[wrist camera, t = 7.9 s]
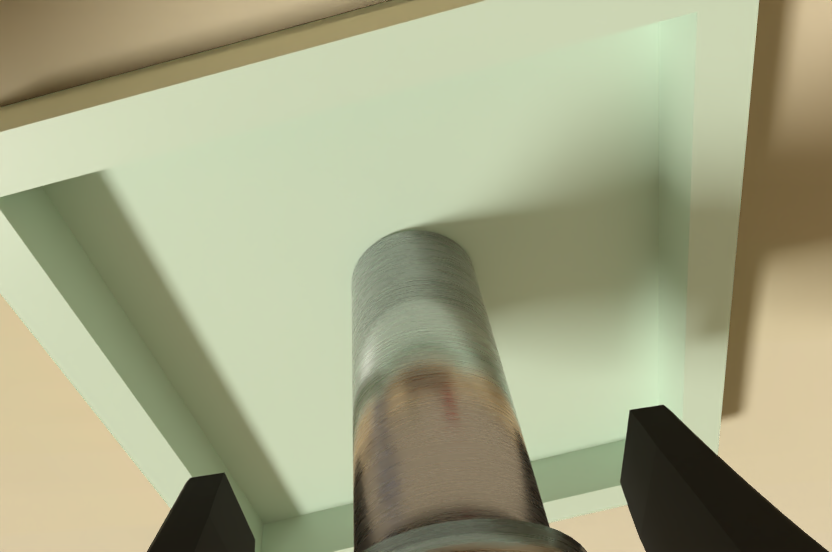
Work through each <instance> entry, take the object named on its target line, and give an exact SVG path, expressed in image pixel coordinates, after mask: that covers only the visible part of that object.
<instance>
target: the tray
mask: <svg viewBox="0 0 832 552" xmlns="http://www.w3.org/2000/svg"><path fill="white" fill-rule="evenodd" d="M758 8H759V0H390V1H387V2H383V3H379V4H376V5H372V6H368V7H365V8H361V9H358V10H354V11H350V12H347V13H343V14H339V15H336V16H332V17H328V18H325V19H321V20H317V21H314V22H310V23H306V24H303V25H299V26H295V27H292V28H288V29H284V30H281V31H277V32H273V33H270V34H266V35H262V36H259V37H255V38H251V39H248V40H244V41H240V42H237V43H233V44H229V45H226V46H222V47H218V48H215V49H211V50H208V51H204V52H200V53H197V54H193V55H189V56H186V57H182V58H178V59H175V60H171V61H167V62H164V63H160V64H156V65H153V66H149V67H145V68H142V69H138V70H134V71H131V72H127V73H123V74H120V75H116V76H112V77H109V78H105V79H101V80H98V81H94V82H90V83H87V84H83V85H79V86H76V87H72V88H68V89H65V90H61V91H57V92H54V93H50V94H47V95H43V96H39V97H36V98H32V99H28V100H25V101H21V102H17V103H14V104H10V105H6V106H3V107H0V294H1V295H2V296H3V298H4V299H5V300H6V301H7V303H8V304H9V305H10V306H11V308H12V309H13V310H14V312H15V313H16V314H17V315H18V317H19V318H20V319H21V320H22V322H23V323H24V324H25V325H26V327H27V328H28V329H29V330H30V332H31V333H32V334H33V335H34V337H35V338H36V339H37V341H38V342H39V343H40V344H41V346H42V347H43V348H44V349H45V351H46V352H47V353H48V354H49V356H50V357H51V358H52V359H53V361H54V362H55V363H56V365H57V366H58V367H59V368H60V370H61V371H62V372H63V373H64V375H65V376H66V377H67V378H68V380H69V381H70V382H71V383H72V385H73V386H74V387H75V389H76V390H77V391H78V392H79V394H80V395H81V396H82V397H83V399H84V400H85V401H86V402H87V404H88V405H89V406H90V407H91V409H92V410H93V411H94V412H95V414H96V415H97V416H98V418H99V419H100V420H101V421H102V423H103V424H104V425H105V426H106V428H107V429H108V430H109V431H110V433H111V434H112V435H113V436H114V438H115V439H116V440H117V442H118V443H119V444H120V445H121V447H122V448H123V449H124V450H125V452H126V453H127V454H128V455H129V457H130V458H131V459H132V460H133V462H134V463H135V464H136V465H137V467H138V468H139V469H140V471H141V472H142V473H143V474H144V476H145V477H146V478H147V479H148V481H149V482H150V483H151V484H152V486H153V487H154V488H155V489H156V491H157V492H158V493H159V495H160V496H161V497H162V498H163V500H164V501H165V502H166V503H167V505H168V506H169V507H170V508H172V507H173V505H174V503H175V501H176V499H177V498H178V496H179V494H180V492H181V490H182V489H183V487H184V485H185V483H186V482H187V481H188V480H189V478H192V477H198V476H205V475H211V474H218V473H224V472H225V474H226V476H227V479H228V481H229V483H230V485H231V487H232V490H233V492H234V494H235V496H236V498H237V501H238V503H239V505H240V507H241V509H242V511H243V514H244V516H245V518H246V520H247V522H248V525H249V527H250V529H251V531H252V533H253V536H254V538H255V552H354V526H353V410H352V295H351V283H352V275H353V271H354V268H355V265H356V264H357V262H358V260H359V258H360V257H361V256H362V255H363V253H364V252H365V251H366V250H367V249H368V248H369V247H371V246H372V245H373V244H375V243H376V242H378V241H379V240H381V239H383V238H385V237H387V236H390V235H393V234H396V233H400V232H405V231H415V230H417V231H429V232H434V233H438V234H441V235H443V236H446V237H448V238H450V239H451V240H453V241H455V242H456V243H457V244H459V245H460V246H461V247H462V248H463V249H464V250H465V252H466V253H467V254H468V256H469V258H470V260H471V262H472V264H473V268H474V271H475V274H476V278H477V281H478V285H479V288H480V292H481V295H482V298H483V302H484V305H485V309H486V312H487V315H488V319H489V322H490V326H491V329H492V332H493V336H494V339H495V343H496V346H497V349H498V353H499V356H500V360H501V363H502V366H503V370H504V373H505V377H506V380H507V383H508V387H509V390H510V394H511V397H512V400H513V404H514V407H515V411H516V414H517V418H518V421H519V424H520V428H521V431H522V435H523V438H524V441H525V445H526V448H527V452H528V455H529V458H530V462H531V465H532V469H533V472H534V475H535V479H536V482H537V486H538V489H539V492H540V496H541V499H542V503H543V506H544V509H545V513H546V516H547V520H548V523H551V522H555V521H560V520H564V519H569V518H573V517H577V516H582V515H586V514H590V513H595V512H599V511H603V510H608V509H612V508H616V507H621V506H625V505H628V504H627V501H626V498H625V496H624V493H623V490H622V487H621V484H620V478H621V470H622V463H623V455H624V448H625V441H626V433H627V426H628V418H629V411H630V410H632V409H638V408H645V407H651V406H658V405H665V406H666V407H667V408H669V409H670V410H671V411H672V412H673V413H674V414H675V415H676V416H677V417H678V418H679V419H680V420H681V421H682V422H683V423H684V424H685V425H686V426H687V427H688V428H689V429H690V430H691V431H692V432H693V433H695V434H696V435H697V436H698V437H699V438H700V439H701V440H702V441H703V442H704V443H705V444H706V445H707V446H708V447H709V448H710V449H711V450H712V451H713V452H715V453H716V454H717V455H718V447H719V436H720V425H721V414H722V403H723V392H724V381H725V370H726V359H727V348H728V337H729V326H730V315H731V304H732V293H733V282H734V271H735V260H736V249H737V239H738V228H739V217H740V206H741V195H742V184H743V173H744V162H745V151H746V140H747V129H748V118H749V107H750V96H751V85H752V74H753V63H754V52H755V41H756V30H757V19H758Z"/></svg>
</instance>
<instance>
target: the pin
mask: <svg viewBox="0 0 832 552" xmlns="http://www.w3.org/2000/svg"><path fill="white" fill-rule="evenodd" d="M351 295H352V410H353V526H354V552H587V551H586V550H585V549H584V548H583V547H582V546H581V544H579V543H578V542H577V541H575V540H574V539H573V538H571V537H570V536H568V535H566V534H564V533H562V532H560V531H558V530H555V529H552V528H550V527H549V523H548V520H547V516H546V513H545V509H544V506H543V503H542V499H541V496H540V492H539V489H538V486H537V482H536V479H535V475H534V472H533V469H532V465H531V462H530V458H529V455H528V452H527V448H526V445H525V441H524V438H523V435H522V431H521V428H520V424H519V421H518V418H517V414H516V411H515V407H514V404H513V400H512V397H511V394H510V390H509V387H508V383H507V380H506V377H505V373H504V370H503V366H502V363H501V360H500V356H499V353H498V349H497V346H496V343H495V339H494V336H493V332H492V329H491V326H490V322H489V319H488V315H487V312H486V309H485V305H484V302H483V298H482V295H481V292H480V288H479V285H478V281H477V278H476V274H475V271H474V268H473V264H472V262H471V260H470V258H469V256H468V254H467V253H466V252H465V250H464V249H463V248H462V247H461V246H460V245H459V244H457V243H456V242H455V241H453V240H451V239H450V238H448V237H446V236H443V235H441V234H438V233H434V232H429V231H417V230H415V231H405V232H400V233H396V234H393V235H390V236H387V237H385V238H383V239H381V240H379V241H378V242H376V243H375V244H373V245H372V246H371V247H369V248H368V249H367V250H366V251H365V252H364V253H363V255H362V256H361V257H360V258H359V260H358V262H357V264H356V265H355V268H354V271H353V275H352V283H351Z"/></svg>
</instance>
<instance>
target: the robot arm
mask: <svg viewBox="0 0 832 552" xmlns="http://www.w3.org/2000/svg"><path fill="white" fill-rule="evenodd" d="M620 484H621V487H622V490H623V493H624V496H625V498H626V501H627V504H628V507H629V510H630V513H631V516H632V518H633V521H634V524H635V527H636V529H637V532H638V535H639V537H640V540H641V542H642V544H643V546H644V548H645V550H646V552H829V551H827V550H826V549H825V548H824V547H822V546H821V545H820V544H819V543H817V542H816V541H815V540H814V539H812V538H811V537H810V536H809V535H808V534H806V533H805V532H804V531H803V530H801V529H800V528H799V527H798V526H797V525H796V524H794V523H793V522H792V521H791V520H790V519H788V518H787V517H786V516H785V515H784V514H782V513H781V512H780V511H779V510H778V509H777V508H776V507H774V506H773V505H772V504H771V503H770V502H769V501H768V500H767V499H765V498H764V497H763V496H762V495H761V494H760V493H759V492H757V491H756V490H755V489H754V488H753V487H752V486H751V485H749V484H748V483H747V482H746V481H745V480H744V479H743V478H742V477H741V476H739V475H738V474H737V473H736V472H735V471H734V470H733V469H732V468H731V467H730V466H728V465H727V464H726V463H725V462H724V461H723V460H722V459H721V458H720V457H719V456H718V455H717V454H716V453H715V452H713V451H712V450H711V449H710V448H709V447H708V446H707V445H706V444H705V443H704V442H703V441H702V440H701V439H700V438H699V437H698V436H697V435H696V434H695V433H693V432H692V431H691V430H690V429H689V428H688V427H687V426H686V425H685V424H684V423H683V422H682V421H681V420H680V419H679V418H678V417H677V416H676V415H675V414H674V413H673V412H672V411H671V410H670V409H669V408H667V407H666V406H665V405H658V406H651V407H645V408H638V409H632V410H630V411H629V418H628V426H627V433H626V441H625V448H624V455H623V463H622V470H621V478H620ZM147 552H255V538H254V536H253V533H252V531H251V529H250V527H249V525H248V522H247V520H246V518H245V516H244V514H243V511H242V509H241V507H240V505H239V503H238V501H237V498H236V496H235V494H234V492H233V490H232V487H231V485H230V483H229V481H228V479H227V476H226V474H225V472H224V473H218V474H211V475H205V476H198V477H192V478H189V480H188V481H187V482H186V483H185V485H184V487H183V489H182V490H181V492H180V494H179V496H178V498H177V499H176V501H175V503H174V505H173V507H172V508H171V510H170V512H169V514H168V516H167V517H166V519H165V521H164V523H163V525H162V526H161V528H160V530H159V532H158V533H157V535H156V537H155V539H154V540H153V542H152V544H151V545H150V547H149V549H148V551H147Z"/></svg>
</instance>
